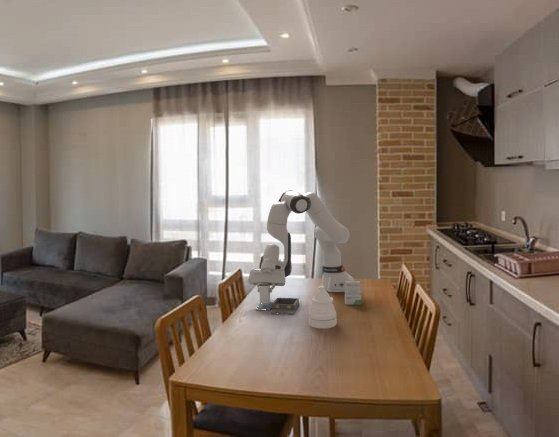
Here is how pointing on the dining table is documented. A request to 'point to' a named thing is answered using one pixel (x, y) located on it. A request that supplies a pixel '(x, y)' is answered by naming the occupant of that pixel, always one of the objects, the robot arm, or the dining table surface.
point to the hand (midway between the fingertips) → (264, 291)
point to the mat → (265, 306)
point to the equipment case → (285, 305)
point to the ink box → (353, 292)
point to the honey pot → (322, 310)
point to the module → (264, 292)
